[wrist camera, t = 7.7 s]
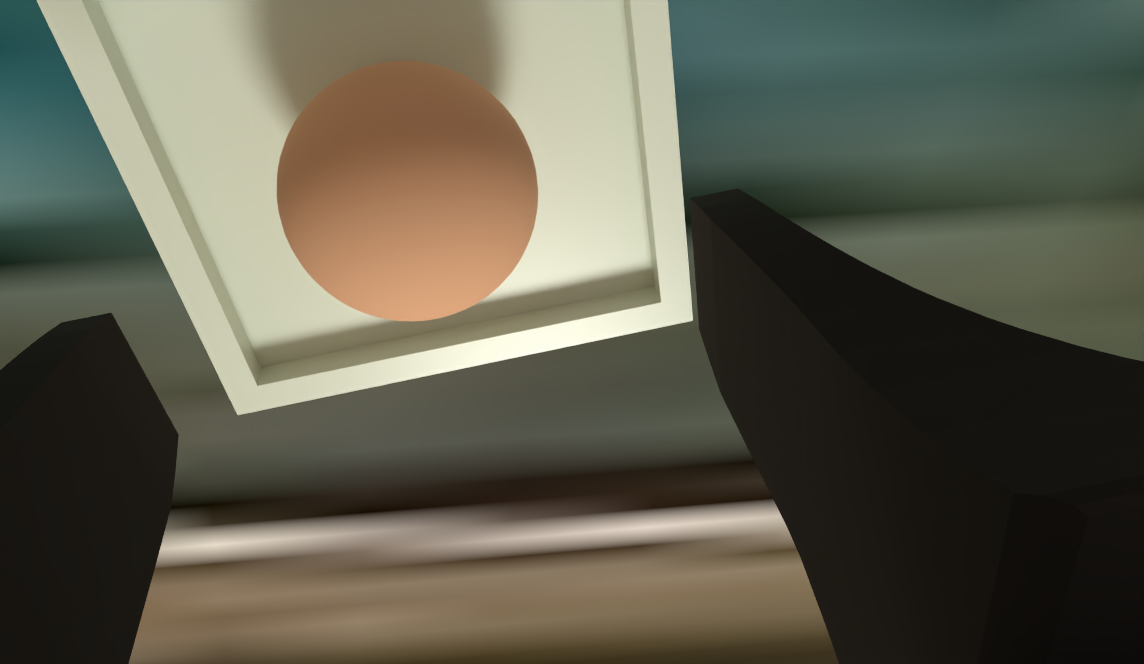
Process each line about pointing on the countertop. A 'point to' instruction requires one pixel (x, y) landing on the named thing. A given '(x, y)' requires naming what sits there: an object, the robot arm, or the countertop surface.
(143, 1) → the tray
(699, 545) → the countertop surface
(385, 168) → the ball
